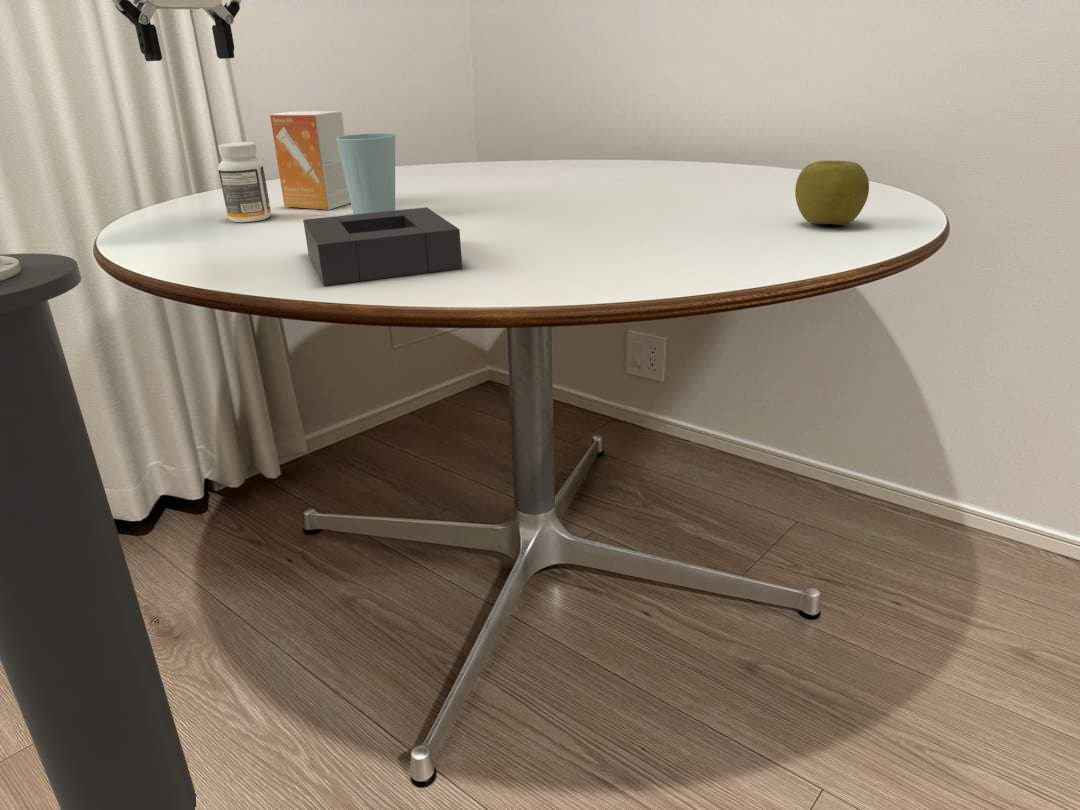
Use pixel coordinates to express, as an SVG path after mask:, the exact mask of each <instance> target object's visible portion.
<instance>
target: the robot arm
mask: <svg viewBox="0 0 1080 810" xmlns="http://www.w3.org/2000/svg"><path fill="white" fill-rule="evenodd" d="M111 1H112V3H113V4H114V5H115V8H116V10H117V11H118V12H120V13H121V14H122V15H123V16H124V17H125V18H126V19H128V21H129V23H130V24H131V25H132V26H134V27H135V32H136V36H137V41H138V45H139V49H140V53H141V54H142V55H143V56H144V60H145V61H146V62H161V61H162V60H163V54H162V50H161V46H160V45H161V44H160V41H159V37H158V32H157V27H156V26H155V24H152V23H151V20H152V18H153V16H154V14H155V12H156V10H200V9H202V10H204V12H205V13H206V14H207V15H208V16H209V17H210V18H211V20H212V21H213V22H214V24H213V25H211V30H212V36H213V41H214V42H213V43H214V47H215V52H216V57H217V58H218V59H220V60H221V59H222V60H223V59H234V58H235V43H234V37H233V31H232V25H233V24H234V22H235V18H236V16H237V14H238V13H239V12H240V10H241V2H242V0H227V1H226V2H225V4H223V3H222V2H223V0H131V1H130V0H111ZM20 271H21V267H20V264H19V261H18V260H17V259H15V258H12V257H7V256H0V282H1V281H4V280H6V279H9V278H11V277H13V276H15V275H17V274H18V273H19V272H20Z"/></svg>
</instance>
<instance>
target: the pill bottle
mask: <svg viewBox="0 0 1080 810" xmlns="http://www.w3.org/2000/svg"><path fill="white" fill-rule="evenodd" d="M217 147H218V152H219V155H220V157H221V158H222V160H221V162H219V164H218V167H217V170H218V171H217V172H218V175H219V180H220V185H221V190H222V195H223V200H224V204H225V210H226V214H227V218H228V220H229V221H231V222H233V223H252V222H258V221H263V220H266V219H269V218H270V217H271V215H272V211H271V204H270V199H269V193H268V192H269V191H268V187H267V186H268V185H267V181H266V174H265V170H264V164H263V163H262V161H261V160H259V159H258V158H257V157H256V154H257V152H258V150H257V146H256V143H255V142H253V141H235V142H225V143H220V144H218V146H217Z"/></svg>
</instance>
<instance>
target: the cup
mask: <svg viewBox="0 0 1080 810" xmlns="http://www.w3.org/2000/svg"><path fill="white" fill-rule="evenodd" d="M336 141H337V146H338V150H339V154H340V158H341V162H342V166H343V171H344V175H345V179H346V183H347V188H348V192H349V196H350V200H351V203H350V204H351V208H352V213H353V215H355V214H365V213H375V212H385V211H395V210H396V134H395V133H389V132H388V133H385V132H384V133H383V132H373V133H372V132H371V133H355V134H345V136H339V137H337V138H336Z"/></svg>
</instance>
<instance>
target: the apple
mask: <svg viewBox="0 0 1080 810" xmlns="http://www.w3.org/2000/svg"><path fill="white" fill-rule="evenodd" d="M794 189H795V190H794V192H795V193H794V195H795V203H796V205H797V208H798V211H799V213H800V214H801V216H802V218H803V219H804V220H805V221H806V222H808V223H810V224H813V225H835V226H836V225H837V226H846V225H849V224H850V223H852V222H853V221H854V220H855V219H857V217H858V216H859V215H860V214H861V212H862V211H863V208H864V207H865V205H866V203H867V200H868V198H869V192H870V180H869V177H868V174H867V172H866V170H865V169H864V168H863V166H861V165H860V164H859V163H857V162H856V161H855V162H854V161H848V160H818V161H813V162H810V163H809V164H807V165H806V166H804V167H803V169H802V170H801V171H800V173H799V175H798V176H797V179H796V182H795V188H794Z"/></svg>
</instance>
